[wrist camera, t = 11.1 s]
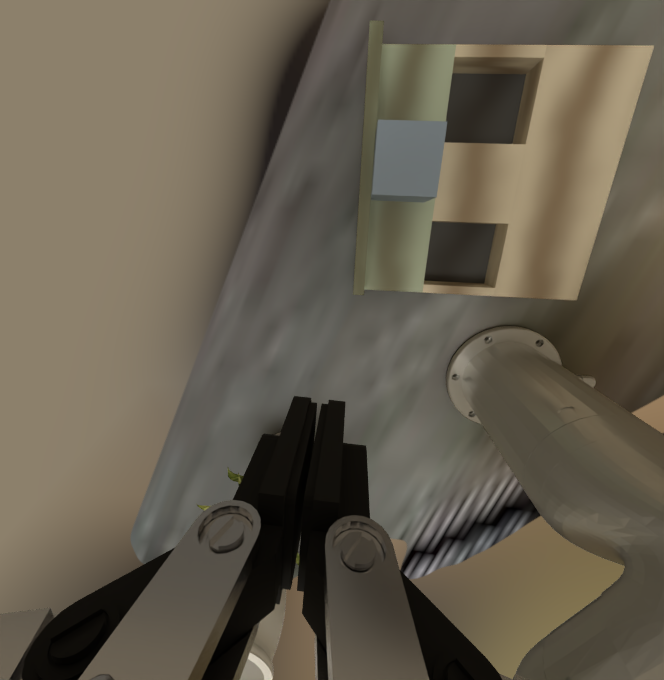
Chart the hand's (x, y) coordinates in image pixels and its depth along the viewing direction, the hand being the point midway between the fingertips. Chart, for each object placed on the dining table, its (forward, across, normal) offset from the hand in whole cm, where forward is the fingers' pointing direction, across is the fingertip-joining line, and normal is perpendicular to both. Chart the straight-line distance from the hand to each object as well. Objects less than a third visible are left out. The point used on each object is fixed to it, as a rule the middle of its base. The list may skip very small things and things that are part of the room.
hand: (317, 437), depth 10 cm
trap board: (+27, -12, -11) cm, 31 cm away
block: (+24, -4, -12) cm, 27 cm away
